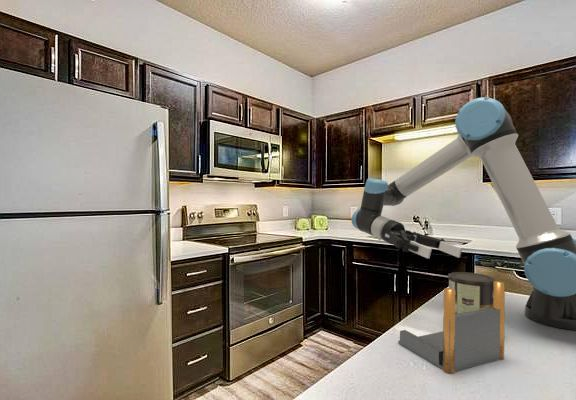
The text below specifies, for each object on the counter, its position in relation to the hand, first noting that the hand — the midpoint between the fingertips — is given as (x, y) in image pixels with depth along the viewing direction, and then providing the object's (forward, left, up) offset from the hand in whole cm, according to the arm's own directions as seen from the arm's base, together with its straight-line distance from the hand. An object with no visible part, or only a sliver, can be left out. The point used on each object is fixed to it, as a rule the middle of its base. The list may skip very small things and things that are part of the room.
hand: (445, 253), depth 89 cm
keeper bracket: (+14, +12, -19) cm, 26 cm away
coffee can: (0, +7, -19) cm, 20 cm away
